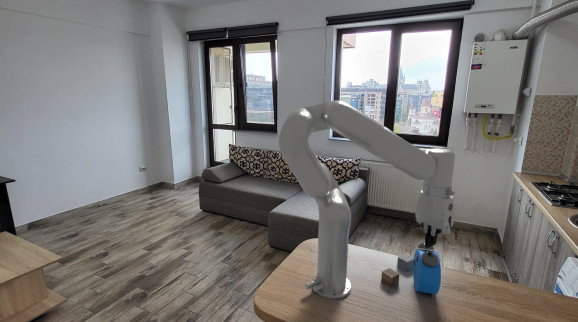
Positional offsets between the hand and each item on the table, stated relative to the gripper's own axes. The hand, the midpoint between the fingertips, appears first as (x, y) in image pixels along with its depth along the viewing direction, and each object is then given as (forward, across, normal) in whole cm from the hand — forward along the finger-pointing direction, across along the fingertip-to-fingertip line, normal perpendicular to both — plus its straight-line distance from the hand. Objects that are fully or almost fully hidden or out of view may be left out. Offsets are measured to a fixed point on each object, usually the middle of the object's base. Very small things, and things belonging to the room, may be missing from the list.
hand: (430, 244), depth 92 cm
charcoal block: (+16, +11, -5) cm, 20 cm away
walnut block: (+16, +8, +7) cm, 19 cm away
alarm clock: (+16, 0, 0) cm, 16 cm away
